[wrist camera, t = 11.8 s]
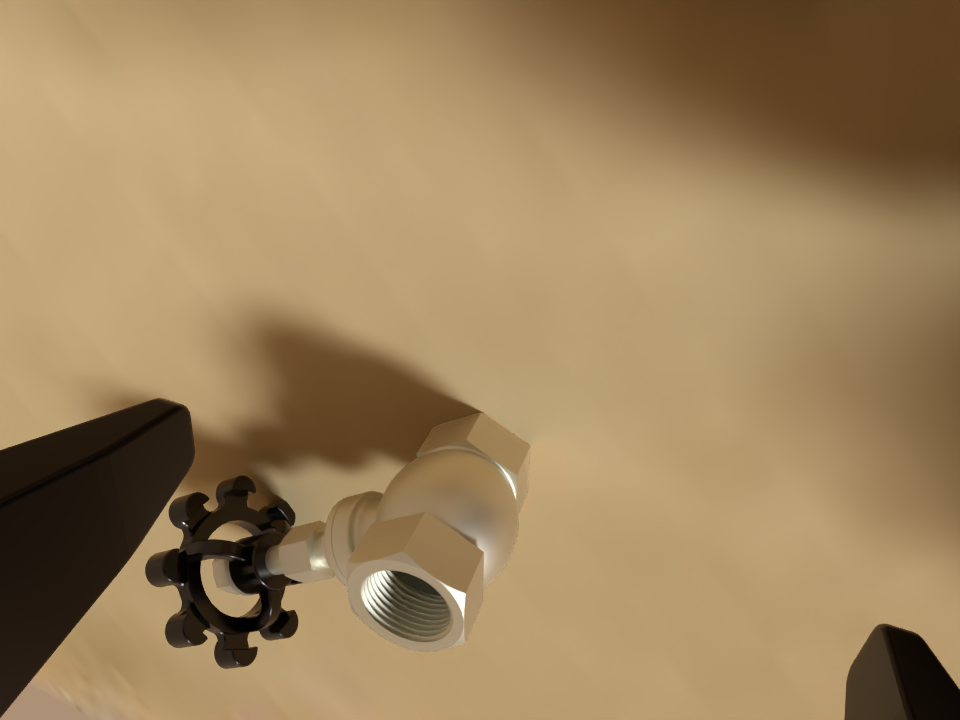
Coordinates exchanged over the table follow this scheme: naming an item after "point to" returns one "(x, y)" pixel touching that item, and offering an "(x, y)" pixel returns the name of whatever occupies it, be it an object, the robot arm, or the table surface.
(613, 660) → the table surface
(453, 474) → the valve
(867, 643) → the robot arm
